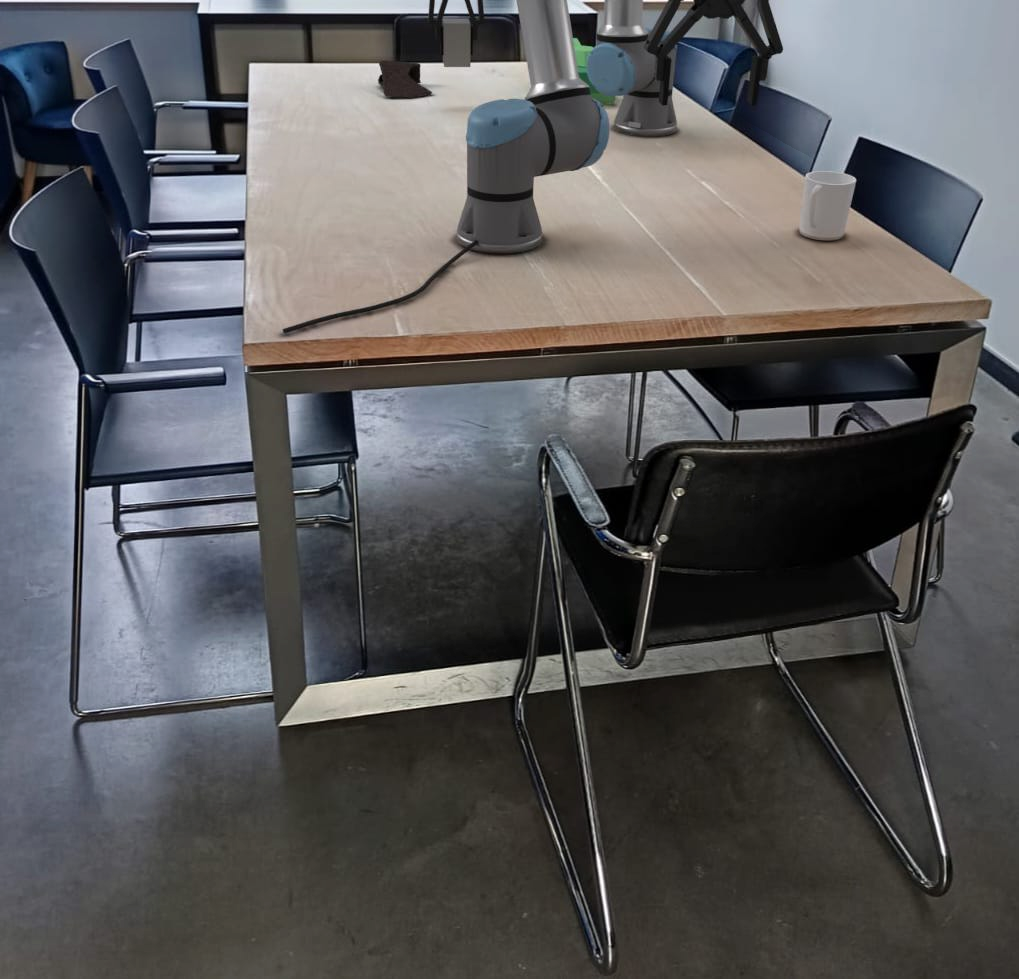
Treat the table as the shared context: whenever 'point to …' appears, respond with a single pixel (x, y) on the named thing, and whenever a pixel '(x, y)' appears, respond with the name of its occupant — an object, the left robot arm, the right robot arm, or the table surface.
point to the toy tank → (581, 59)
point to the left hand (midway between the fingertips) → (707, 103)
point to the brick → (456, 42)
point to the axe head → (401, 79)
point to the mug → (826, 204)
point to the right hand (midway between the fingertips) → (456, 53)
